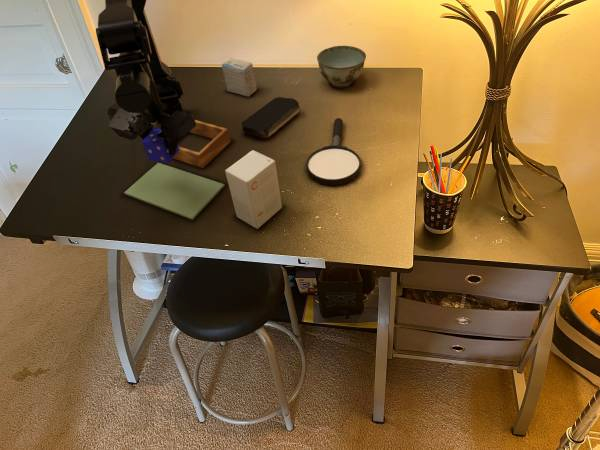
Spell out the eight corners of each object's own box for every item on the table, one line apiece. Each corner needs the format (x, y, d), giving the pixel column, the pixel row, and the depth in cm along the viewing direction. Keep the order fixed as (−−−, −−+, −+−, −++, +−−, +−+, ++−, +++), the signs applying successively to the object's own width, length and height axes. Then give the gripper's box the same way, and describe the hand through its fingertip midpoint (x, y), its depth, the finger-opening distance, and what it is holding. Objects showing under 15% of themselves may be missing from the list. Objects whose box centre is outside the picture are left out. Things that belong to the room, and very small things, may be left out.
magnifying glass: (363, 125, 118) (363, 117, 117) (359, 187, 102) (359, 179, 100) (314, 124, 120) (314, 117, 118) (304, 185, 104) (303, 178, 102)
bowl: (313, 93, 131) (312, 66, 125) (322, 70, 140) (321, 44, 134) (361, 95, 128) (362, 68, 122) (367, 72, 137) (368, 45, 131)
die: (180, 149, 101) (173, 130, 97) (169, 163, 97) (162, 144, 94) (160, 147, 102) (153, 127, 98) (148, 160, 99) (141, 141, 95)
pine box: (157, 153, 116) (152, 140, 113) (186, 129, 123) (182, 116, 120) (203, 168, 111) (199, 155, 108) (230, 141, 118) (227, 128, 115)
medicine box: (257, 90, 134) (252, 62, 128) (248, 97, 132) (243, 69, 126) (236, 84, 138) (230, 57, 131) (226, 91, 135) (221, 64, 129)
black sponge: (265, 144, 116) (263, 131, 113) (240, 134, 119) (237, 122, 117) (303, 112, 124) (302, 100, 122) (278, 104, 128) (277, 92, 126)
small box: (261, 196, 102) (252, 148, 93) (282, 207, 99) (276, 159, 90) (235, 217, 98) (223, 169, 89) (257, 230, 95) (247, 182, 86)
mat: (124, 194, 106) (123, 192, 106) (158, 164, 113) (158, 162, 113) (192, 220, 99) (191, 218, 98) (224, 186, 106) (224, 184, 105)
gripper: (73, 96, 87) (104, 162, 98) (147, 117, 80) (172, 185, 91) (115, 69, 93) (140, 134, 104) (187, 86, 86) (206, 153, 97)
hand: (163, 151), depth 99 cm, fingers closed on die, 5 cm apart
